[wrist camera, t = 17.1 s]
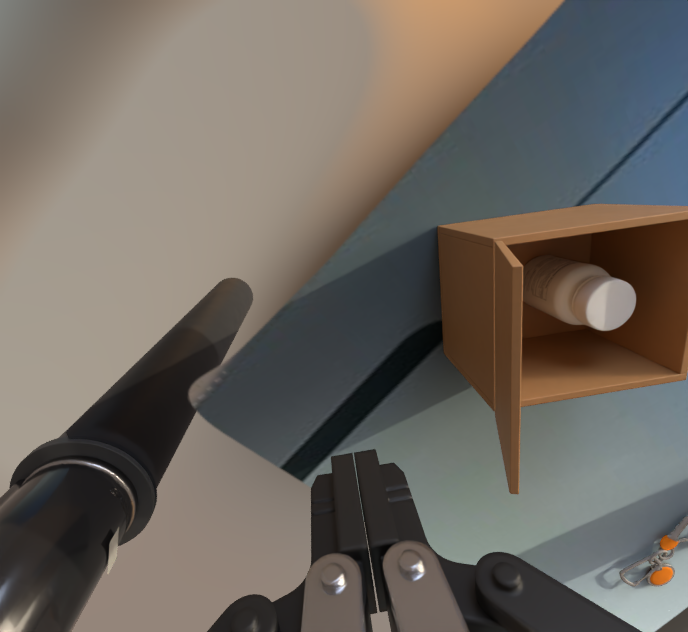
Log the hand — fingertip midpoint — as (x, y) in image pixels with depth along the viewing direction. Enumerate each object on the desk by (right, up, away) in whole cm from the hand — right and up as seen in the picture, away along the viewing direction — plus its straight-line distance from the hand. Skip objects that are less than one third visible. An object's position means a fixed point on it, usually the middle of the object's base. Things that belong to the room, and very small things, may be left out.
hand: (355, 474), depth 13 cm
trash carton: (+14, +8, +19) cm, 25 cm away
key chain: (+37, -21, +31) cm, 52 cm away
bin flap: (+8, +3, +6) cm, 11 cm away
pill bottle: (+16, +8, +19) cm, 26 cm away
